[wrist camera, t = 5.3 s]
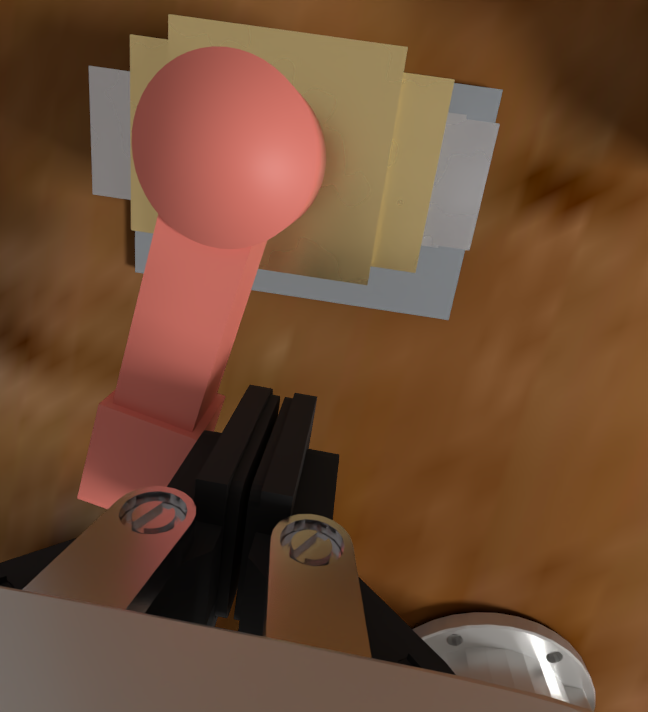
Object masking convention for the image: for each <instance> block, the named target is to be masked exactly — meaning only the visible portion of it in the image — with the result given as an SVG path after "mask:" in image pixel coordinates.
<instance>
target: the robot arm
mask: <svg viewBox="0 0 648 712" xmlns="http://www.w3.org/2000/svg"><path fill="white" fill-rule="evenodd" d="M316 401H317V397H315V396H310V395H304V394H299V393H295V394H294V397H293V398H288V397H285V399H284V401H283V404H282V407H281V409H280V412H279V414H278V411H279V403H280V396H276V395H273V389H271V388H265V387H260V386H254V385H249V387H248V389H247V390H246V392H245V394H244V396H243V397H242V399H241V401H240V403H239V404H238V406H237V408H236V410H235V411H234V413H233V415H232V417H231V418H230V420H229V422H228V424H227V425H226V427H225V429H224V430H223V432H222V433H219V432H213V431H208V430H204V431H203V432H202V434H201V435H200V437H199V438H198V440H197V441H196V443H195V444H194V446H193V447H192V449H191V450H190V452H189V453H188V455H187V457H186V458H185V460H184V461H183V463H182V464H181V466H180V467H179V469H178V470H177V472H176V473H175V475H174V476H173V478H172V480H171V481H170V483H169V484H168V486H167V487H164V486H154V487H146V488H141V489H137V490H134V491H132V492H129V493H127V494H125V495H124V496H123V497H121V498H120V499H118V500H117V501H116V502H115V503H114V504H113V505H112V506H111V507H110V508H108V509H107V510H106V511H105V512H104V513H103V514H102V515H101V516H100V517H99V518H98V519H97V520H96V521H95V522H94V523H92V524H91V525H90V526H89V527H88V528H87V529H86V530H85V531H84V532H83V533H82V534H81V535H80V536H79V537H78V538H75V539H72V540H69V541H66V542H63V543H60V544H57V545H54V546H51V547H48V548H45V549H42V550H38V551H35V552H32V553H29V554H26V555H23V556H20V557H17V558H14V559H11V560H8V561H5V562H2V563H0V712H594V709H595V689H594V686H593V683H592V680H591V677H590V675H589V673H588V671H587V669H586V666H585V664H584V662H583V660H582V658H581V656H580V655H579V654H578V653H577V651H576V650H575V649H574V648H573V647H572V645H571V644H570V643H569V642H567V641H566V640H565V639H564V638H562V637H561V636H560V635H558V634H557V633H556V632H554V631H552V630H550V629H548V628H547V627H545V626H543V625H541V624H539V623H536V622H533V621H530V620H527V619H524V618H521V617H518V616H512V615H506V614H500V613H486V612H472V613H463V614H455V615H450V616H446V617H442V618H439V619H435V620H432V621H430V622H427V623H425V624H423V625H421V626H418V627H416V628H414V629H413V630H412V629H411V628H410V627H409V626H408V625H407V624H406V623H405V622H404V621H403V620H402V619H401V618H400V617H399V616H398V615H397V614H396V613H395V612H394V611H393V610H392V609H391V608H390V607H389V606H388V605H387V604H386V603H385V602H384V601H383V600H382V599H381V598H380V597H379V596H378V595H377V594H376V593H375V592H373V591H372V590H371V589H370V588H369V587H368V586H367V585H366V584H365V583H364V582H363V581H362V580H361V579H360V578H359V577H358V572H357V566H356V560H355V554H354V548H353V543H352V541H351V538H350V535H349V534H348V533H347V532H346V531H345V529H344V528H343V527H342V526H340V525H339V524H337V523H336V522H335V521H333V510H334V501H335V491H336V482H337V472H338V463H339V454H333V453H328V452H323V451H317V450H312V449H308V448H309V443H310V437H311V431H312V425H313V419H314V413H315V407H316ZM237 588H238V589H237ZM236 591H237V597H236V605H235V613H234V619H235V620H240V623H239V630H238V631H233V630H228V629H223V628H218V627H215V624H216V621H217V618H218V616H219V617H224V618H227V617H228V615H229V612H230V609H231V606H232V603H233V600H234V597H235V594H236Z"/></svg>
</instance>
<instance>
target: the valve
mask: <svg viewBox="0 0 648 712" xmlns="http://www.w3.org/2000/svg"><path fill="white" fill-rule="evenodd" d="M212 46H217V47H230V48H236V49H240V50H243V51H246V52H249V53H252V54H254V55H256V56H258V57H260V58H262V59H264V60H265V61H266V62H268V63H269V64H271V65H272V66H274V67H275V68H276V69H277V70H278V71H279V72H280V73H282V74H283V75H284V76H285V77H286V78H287V80H288V81H289V82H290V83H291V84H292V85H293V86H294V87H295V89H296V90H297V91H298V92H299V93H300V94H301V95H302V97H303V98H304V99H305V100H306V101H307V102H308V104H309V105H310V107H311V108H312V110H313V111H314V113H315V115H316V117H317V119H318V121H319V123H320V126H321V129H322V132H323V136H324V141H325V148H326V167H325V173H324V178H323V182H322V185H321V188H320V190H319V192H318V195H317V196H316V198H315V200H314V202H313V203H312V205H311V206H310V207H309V208H308V210H307V211H306V212H305V213H304V214H303V215H302V216H301V217H300V218H299V219H297V220H296V221H295V222H293V223H292V224H291V225H289V226H288V227H287V228H285V229H284V230H282V231H281V232H280V233H278V234H277V235H276V236H274V237H272V238H270V239H269V240H267V243H266V246H265V249H264V252H263V255H262V258H261V261H260V264H259V267H258V269H262V270H269V271H275V272H282V273H289V274H295V275H302V276H308V277H315V278H321V279H328V280H335V281H341V282H348V283H354V284H361V285H368V279H369V273H370V267H371V266H372V267H379V268H385V269H392V270H399V271H405V272H412V273H416V268H417V263H418V258H419V253H420V248H421V245H422V246H429V247H435V248H438V246H443V247H450V248H457V249H464V250H470V246H471V242H472V237H473V233H474V229H475V225H476V221H477V216H478V212H479V208H480V204H481V200H482V196H483V191H484V187H485V183H486V179H487V175H488V171H489V166H490V162H491V158H492V154H493V150H494V146H495V141H496V137H497V133H498V129H499V125H500V124H498V123H491V122H484V121H477V120H470V119H466V116H467V115H463V114H456V113H449V112H448V111H449V106H450V101H451V96H452V91H453V86H454V81H455V80H454V79H447V78H440V77H433V76H425V75H418V74H411V73H404V67H405V61H406V55H407V49H408V47H403V46H396V45H389V44H381V43H374V42H367V41H360V40H352V39H345V38H338V37H331V36H323V35H316V34H309V33H302V32H294V31H287V30H280V29H273V28H265V27H258V26H251V25H244V24H237V23H229V22H222V21H215V20H208V19H200V18H193V17H186V16H179V15H171V14H169V15H168V40H167V39H160V38H153V37H146V36H139V35H132V34H130V71H124V70H116V69H109V68H102V67H95V66H89V94H90V125H91V156H92V187H93V194H94V195H101V196H108V197H115V198H121V199H128V200H131V230H133V231H140V232H147V233H154V229H155V225H156V221H157V217H158V213H157V212H156V210H155V209H154V208H153V206H152V205H151V203H150V202H149V200H148V199H147V197H146V195H145V193H144V191H143V189H142V187H141V185H140V182H139V180H138V177H137V174H136V171H135V166H134V161H133V155H132V127H133V120H134V116H135V112H136V108H137V105H138V103H139V100H140V98H141V96H142V94H143V92H144V90H145V88H146V87H147V85H148V83H149V82H150V81H151V80H152V78H153V77H154V76H155V75H156V73H157V72H158V71H159V70H160V69H162V68H163V67H164V66H165V65H166V64H167V63H169V62H170V61H172V60H173V59H175V58H176V57H178V56H180V55H182V54H184V53H186V52H189V51H192V50H195V49H199V48H204V47H212Z"/></svg>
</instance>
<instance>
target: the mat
mask: <svg viewBox="0 0 648 712" xmlns="http://www.w3.org/2000/svg"><path fill="white" fill-rule="evenodd" d="M502 91H503V90H500V89H493V88H486V87H479V86H472V85H465V84H457V83H454V86H453V91H452V96H451V101H450V106H449V111H448V112H449V113H456V114H463V115H467V116H466V119H470V120H477V121H484V122H491V123H495V121H496V117H497V113H498V108H499V104H500V100H501V96H502ZM152 237H153V233H147V232H140V231H135V272H138V273H144V271H145V266H146V262H147V258H148V254H149V250H150V246H151V242H152ZM464 252H465V250H464V249H457V248H450V247H443V246H438V248H435V247H429V246H422V245H421V248H420V253H419V258H418V263H417V268H416V273H412V272H405V271H399V270H392V269H385V268H379V267H372V266H371V267H370V273H369V279H368V285H361V284H354V283H348V282H341V281H335V280H328V279H321V278H315V277H308V276H302V275H295V274H289V273H282V272H275V271H269V270H262V269H258V270H257V273H256V276H255V279H254V282H253V285H252V288H251V290H256V291H262V292H269V293H275V294H282V295H288V296H295V297H301V298H308V299H315V300H321V301H328V302H334V303H341V304H347V305H354V306H360V307H367V308H373V309H380V310H386V311H393V312H399V313H406V314H413V315H419V316H426V317H432V318H439V319H445V320H449V316H450V311H451V307H452V303H453V299H454V295H455V290H456V286H457V282H458V278H459V273H460V269H461V265H462V261H463V256H464Z"/></svg>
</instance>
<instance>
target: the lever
mask: <svg viewBox="0 0 648 712" xmlns="http://www.w3.org/2000/svg"><path fill="white" fill-rule="evenodd" d="M132 155H133V161H134V166H135V171H136V174H137V177H138V180H139V182H140V185H141V187H142V189H143V191H144V193H145V195H146V197H147V199H148V200H149V202H150V203H151V205H152V206H153V208H154V209H155V210H156V212H157V213H158V217H157V221H156V225H155V229H154V233H153V237H152V242H151V246H150V250H149V254H148V258H147V262H146V266H145V271H144V275H143V279H142V283H141V287H140V291H139V295H138V300H137V304H136V308H135V312H134V316H133V320H132V325H131V329H130V333H129V337H128V341H127V345H126V349H125V354H124V358H123V362H122V366H121V370H120V374H119V378H118V383H117V387H116V389H115V390H114V391H113V392H112V393H111V394H110V395H109V396H107V397H106V398H105V399H104V400H103V401H102V402H101V403H99V406H98V410H97V414H96V419H95V423H94V427H93V432H92V436H91V441H90V445H89V449H88V454H87V458H86V462H85V467H84V471H83V475H82V480H81V484H80V488H79V493H78V497H77V498H78V499H80V500H83V501H86V502H89V503H92V504H94V505H97V506H100V507H103V508H106V509H108V508H110V507H111V506H112V505H113V504H114V503H115V502H116V501H117V500H118V499H120V498H121V497H123V496H124V495H125V494H127V493H129V492H132V491H134V490H137V489H141V488H146V487H154V486H164V487H167V486H168V484H169V483H170V481H171V480H172V478H173V476H174V475H175V473H176V472H177V470H178V469H179V467H180V466H181V464H182V463H183V461H184V460H185V458H186V457H187V455H188V453H189V452H190V450H191V449H192V447H193V446H194V444H195V443H196V441H197V440H198V438H199V437H200V435H201V434H202V432H203V431H204V430H208V431H213V432H214V429H215V426H216V423H217V420H218V417H219V414H220V411H221V408H222V405H223V402H224V399H225V396H224V395H221V394H218V393H217V392H218V389H219V386H220V383H221V380H222V377H223V374H224V371H225V368H226V365H227V361H228V358H229V355H230V352H231V349H232V346H233V343H234V340H235V337H236V334H237V331H238V328H239V325H240V322H241V319H242V316H243V313H244V310H245V307H246V304H247V301H248V298H249V295H250V292H251V288H252V285H253V282H254V279H255V276H256V273H257V270H258V267H259V264H260V261H261V258H262V255H263V252H264V249H265V246H266V243H267V240H269V239H270V238H272V237H274V236H276V235H277V234H278V233H280V232H281V231H282V230H284V229H285V228H287V227H288V226H289V225H291V224H292V223H293V222H295V221H296V220H297V219H299V218H300V217H301V216H302V215H303V214H304V213H305V212H306V211H307V210H308V208H309V207H310V206H311V205H312V203H313V202H314V200H315V198H316V196H317V195H318V192H319V190H320V188H321V185H322V182H323V178H324V173H325V167H326V148H325V141H324V136H323V132H322V129H321V126H320V123H319V121H318V119H317V117H316V115H315V113H314V111H313V110H312V108H311V107H310V105H309V104H308V102H307V101H306V100H305V99H304V98H303V97H302V95H301V94H300V93H299V92H298V91H297V90H296V89H295V87H294V86H293V85H292V84H291V83H290V82H289V81H288V80H287V78H286V77H285V76H284V75H283V74H282V73H280V72H279V71H278V70H277V69H276V68H275V67H274V66H272V65H271V64H269V63H268V62H266V61H265V60H264V59H262V58H260V57H258V56H256V55H254V54H252V53H249V52H246V51H243V50H240V49H236V48H230V47H217V46H212V47H204V48H199V49H195V50H192V51H189V52H186V53H184V54H182V55H180V56H178V57H176V58H175V59H173V60H172V61H170V62H169V63H167V64H166V65H165V66H164V67H163V68H162V69H160V70H159V71H158V72H157V73H156V75H155V76H154V77H153V78H152V80H151V81H150V82H149V83H148V85H147V87H146V88H145V90H144V92H143V94H142V96H141V98H140V100H139V103H138V105H137V108H136V112H135V116H134V120H133V127H132Z"/></svg>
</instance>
